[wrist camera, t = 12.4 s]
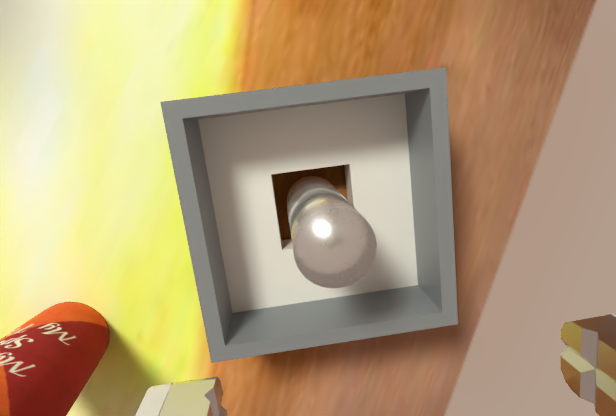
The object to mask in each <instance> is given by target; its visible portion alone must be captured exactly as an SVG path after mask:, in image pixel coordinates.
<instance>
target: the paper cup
mask: <svg viewBox="0 0 616 416" xmlns="http://www.w3.org/2000/svg"><path fill="white" fill-rule="evenodd" d="M108 343H109V329H108V326H107V323H106V321H105V320H104V318H103V317H102V316H101V315H100V314H99V313H98V312H97V311H96V310H95V309H93V308H91V307H90V306H87V305H85V304H82V303H77V302H64V303H59V304H56V305H54V306H52V307H50V308H48V309H46V310H45V311H43V312H41V313H40V314H38V315H37V316H35V317H34V318H32V319H31V320H29V321H28V322H26V323H25V324H23V325H22V326H20V327H19V328H17V329H16V330H14V331H13V332H11V333H10V334H8V335H7V336H5V337H4V338H2V339H1V340H0V416H66V415H67V413H68V412H69V410H70V409H71V407H72V405H73V404H74V402H75V401H76V399H77V397H78V396H79V394H80V393H81V391H82V389H83V388H84V386H85V385H86V383H87V381H88V380H89V378H90V376H91V375H92V373H93V371H94V370H95V368H96V367H97V365H98V363H99V361H100V360H101V358H102V356H103V355H104V353H105V351H106V349H107V346H108Z"/></svg>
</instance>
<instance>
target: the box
mask: <svg viewBox="0 0 616 416" xmlns="http://www.w3.org/2000/svg"><path fill="white" fill-rule="evenodd" d="M161 107H162V112H163V117H164V122H165V127H166V133H167V138H168V143H169V148H170V153H171V158H172V163H173V168H174V173H175V178H176V184H177V189H178V194H179V199H180V204H181V209H182V214H183V219H184V224H185V229H186V235H187V240H188V245H189V250H190V255H191V260H192V265H193V270H194V275H195V280H196V286H197V291H198V296H199V301H200V306H201V311H202V316H203V321H204V326H205V331H206V336H207V342H208V347H209V352H210V357H211V362H212V363H214V362H220V361H226V360H233V359H239V358H246V357H252V356H258V355H265V354H271V353H278V352H284V351H290V350H297V349H303V348H309V347H316V346H322V345H329V344H335V343H341V342H348V341H354V340H361V339H367V338H373V337H380V336H386V335H393V334H399V333H405V332H412V331H418V330H425V329H431V328H437V327H444V326H450V325H457V324H458V312H457V291H456V269H455V248H454V226H453V204H452V183H451V161H450V140H449V118H448V97H447V75H446V67H445V68H437V69H429V70H420V71H412V72H404V73H396V74H387V75H379V76H371V77H363V78H355V79H346V80H338V81H330V82H322V83H313V84H305V85H297V86H289V87H280V88H272V89H264V90H256V91H248V92H239V93H231V94H223V95H215V96H206V97H198V98H190V99H182V100H173V101H165V102H161ZM339 165H344V170H345V179H346V189H347V199H348V202H349V203H350V204H351V205H352V206H353V207H354V208H355V209H356V210H357V211H358V212H359V213H360V214H361V215H362V216H363V217H364V218H365V219H366V221H367V222H368V223H369V224H370V226H371V227H372V229H373V231H374V234H375V237H376V242H377V250H376V256H375V260H374V262H373V264H372V266H371V268H370V269H369V271H368V272H367V273H366V274H365V275H364V276H363V277H362V278H361V279H360V280H358V281H357V282H355V283H353V284H351V285H349V286H346V287H342V288H325V287H321V286H318V285H316V284H314V283H312V282H310V281H309V280H308V279H307V278H305V277H304V276H303V274H302V273H301V272H300V270H299V269H298V267H297V265H296V262H295V259H294V253H293V246H292V239H286V240H281V234H280V227H279V220H278V213H277V206H276V199H275V192H274V185H273V178H272V174H278V173H286V172H293V171H301V170H308V169H316V168H324V167H331V166H339Z"/></svg>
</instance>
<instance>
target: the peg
mask: <svg viewBox="0 0 616 416" xmlns="http://www.w3.org/2000/svg"><path fill="white" fill-rule="evenodd" d="M286 204H287V212H288V219H289V225H290V232H291V239H292V246H293V253H294V259H295V262H296V265H297V267H298V269H299V270H300V272H301V273H302V274H303V276H304V277H305V278H307V279H308V280H309V281H310V282H312V283H314V284H316V285H318V286H321V287H325V288H342V287H346V286H349V285H351V284H353V283H355V282H357V281H358V280H360V279H361V278H362V277H363V276H364V275H365V274H366V273H367V272H368V271H369V269H370V268H371V266H372V264H373V262H374V260H375V256H376V250H377V242H376V237H375V234H374V231H373V229H372V227H371V226H370V224H369V223H368V222H367V221H366V219H365V218H364V217H363V216H362V215H361V214H360V213H359V212H358V211H357V210H356V209H355V208H354V207H353V206H352V205H351V204H350V203H349V202H348V201H347V199H346V198H345V197H344V196H343V195H342V194H341V193H340V192H339V191H338V190H337V189H336V188H335V187H334V186H333V185H332V184H331V183H330V182H329V181H328V180H326V179H324V178H322V177H319V176H306V177H303V178H301V179H299V180H297V181H296V182H295V183H294V184H293V185H292V186H291V188H290V189H289V191H288V194H287V199H286Z"/></svg>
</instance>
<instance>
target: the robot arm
mask: <svg viewBox="0 0 616 416" xmlns="http://www.w3.org/2000/svg"><path fill="white" fill-rule="evenodd" d="M561 340H562V341H563V342H564V343H565V345H566V346H567V347H566V349H565V350H564V351H563V353H562V354H561V371H562V373H563V375H564V379H565V381H566V383H567V384H568V385H569V387H570V388H571V390H572V391H573V392H575V393H576V394H577V395H578V396H579V397H580V398H582V399H585V400H587V401H589V402H592V403H594V404H595V411H596V413H597V414H599V415H600V416H616V313H613V314H608V315H605V316H599V317H593V318H588V319H582V320H576V321H571V322H565V323H564V324H563V327H562V329H561ZM222 396H223V391H222V386H221V382H220V379H219V378H218V377H212V378H205V379H198V380H190V381H183V382H176V383H168V384H162V385H156V386H152V387H150V388H148V390H147V392H146V394H145V396H144V398H143V400H142V402H141V404H140V406H139V408H138V410H137V412H136V414H135V416H227V411H226V410H225V409H224V408H223V407H222V406H221V401H222Z"/></svg>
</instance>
